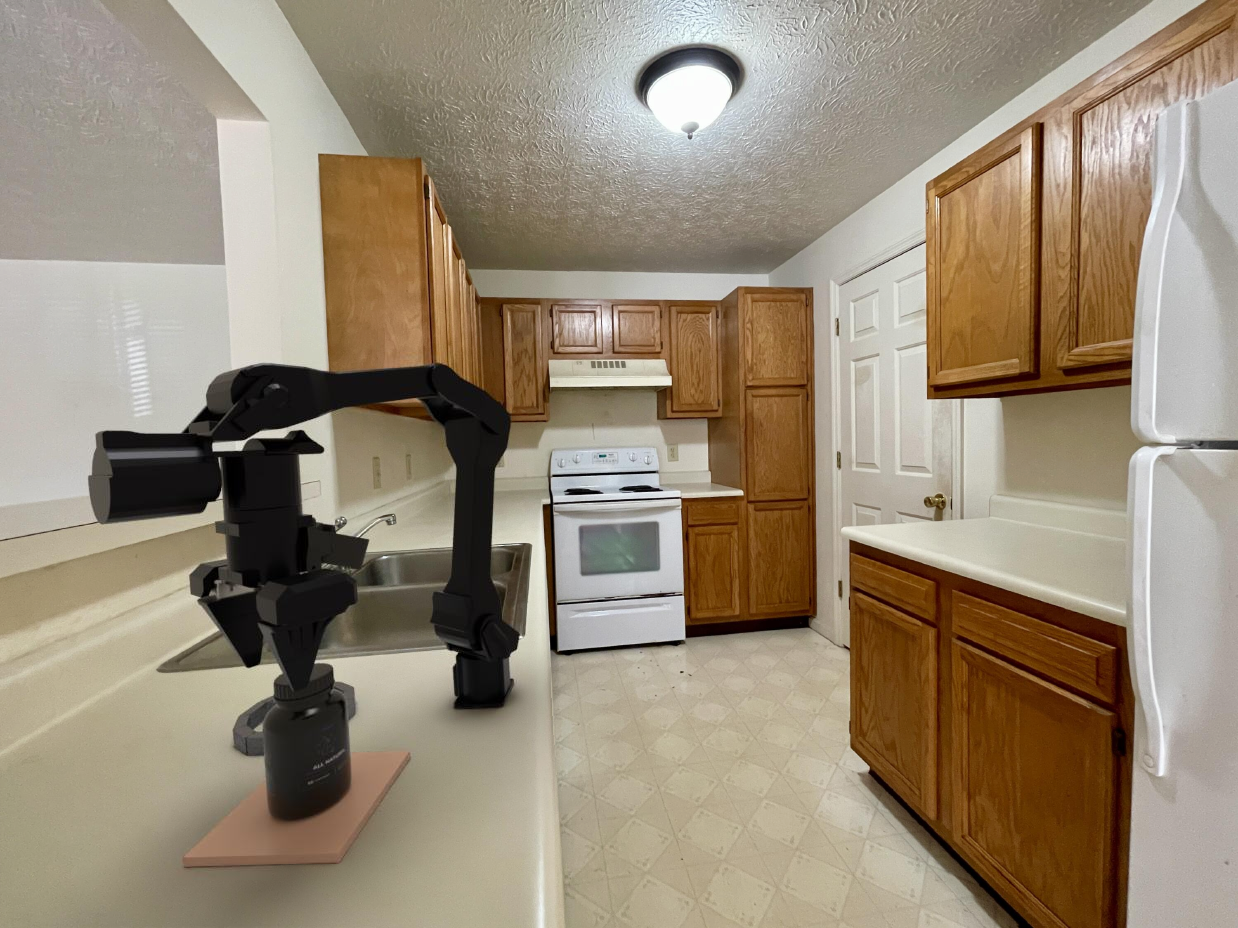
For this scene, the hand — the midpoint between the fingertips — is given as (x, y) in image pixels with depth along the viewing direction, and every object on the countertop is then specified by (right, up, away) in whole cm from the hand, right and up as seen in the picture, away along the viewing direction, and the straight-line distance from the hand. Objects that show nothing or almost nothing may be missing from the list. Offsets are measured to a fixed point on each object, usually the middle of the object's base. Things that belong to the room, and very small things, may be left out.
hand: (275, 677), depth 44 cm
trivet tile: (+2, -13, +2) cm, 13 cm away
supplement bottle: (+2, -13, +2) cm, 13 cm away
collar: (-9, -13, +16) cm, 23 cm away
